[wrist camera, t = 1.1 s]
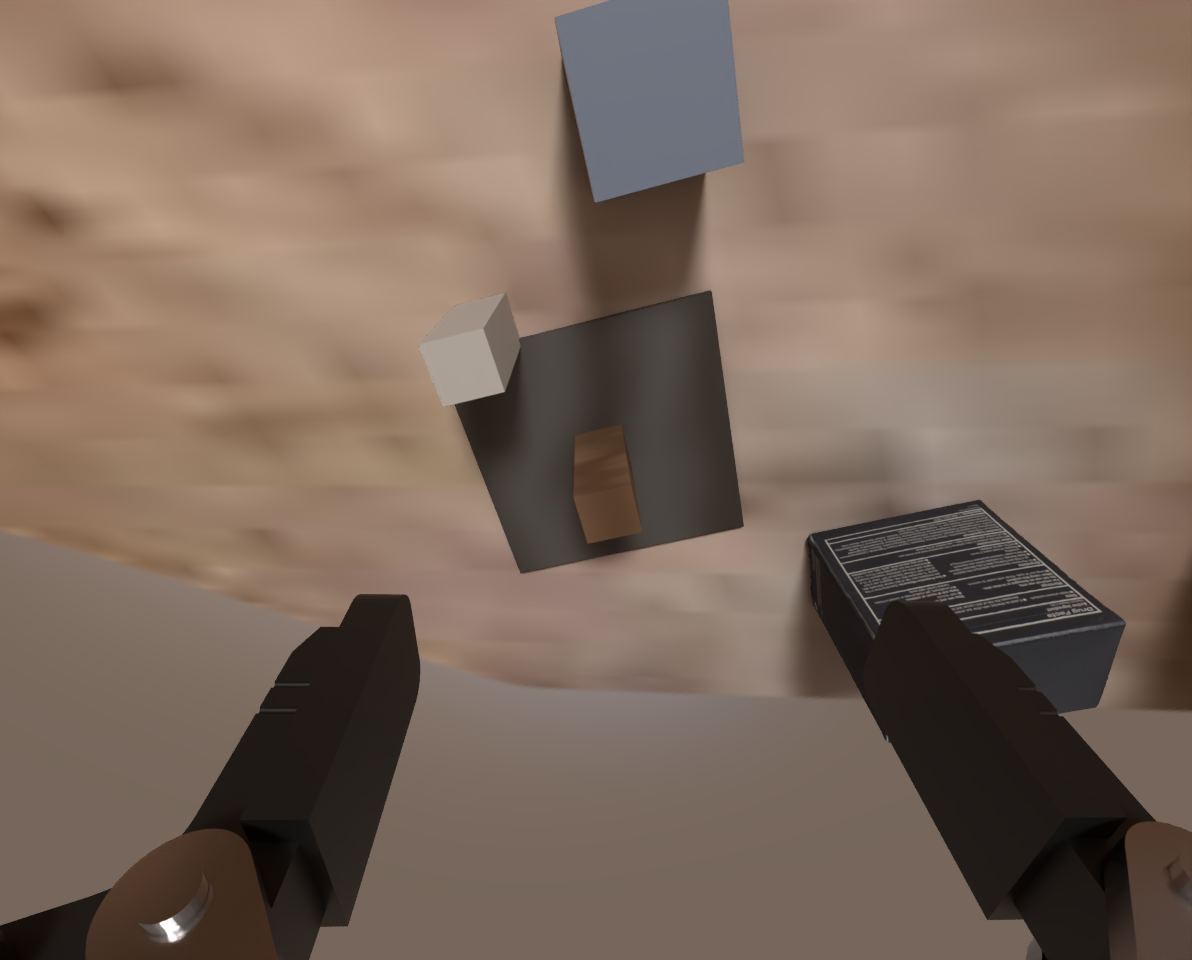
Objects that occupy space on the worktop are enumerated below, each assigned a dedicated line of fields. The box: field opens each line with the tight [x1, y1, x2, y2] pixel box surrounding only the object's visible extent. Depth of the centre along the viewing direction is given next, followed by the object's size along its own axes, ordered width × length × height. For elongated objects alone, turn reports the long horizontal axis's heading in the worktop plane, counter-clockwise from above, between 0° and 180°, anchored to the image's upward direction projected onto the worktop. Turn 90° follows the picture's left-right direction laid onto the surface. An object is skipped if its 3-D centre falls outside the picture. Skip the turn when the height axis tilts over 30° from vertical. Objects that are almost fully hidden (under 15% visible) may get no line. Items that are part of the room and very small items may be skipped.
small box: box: [808, 500, 1126, 743], centre depth 31 cm, size 11×6×10 cm, turn 103°
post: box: [418, 293, 521, 407], centre depth 25 cm, size 3×3×7 cm
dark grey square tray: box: [455, 291, 744, 573], centre depth 28 cm, size 14×14×7 cm
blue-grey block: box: [554, 0, 744, 203], centre depth 21 cm, size 5×5×7 cm
